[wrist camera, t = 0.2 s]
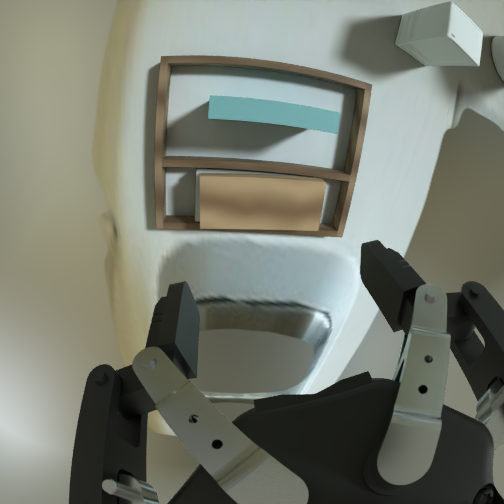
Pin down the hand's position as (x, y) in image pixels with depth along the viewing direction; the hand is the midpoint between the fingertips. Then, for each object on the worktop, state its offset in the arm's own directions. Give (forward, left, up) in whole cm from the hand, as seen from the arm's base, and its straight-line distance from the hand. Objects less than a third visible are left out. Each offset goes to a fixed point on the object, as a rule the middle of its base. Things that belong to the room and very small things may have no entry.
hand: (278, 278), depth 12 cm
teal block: (-7, +3, -28) cm, 29 cm away
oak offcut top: (+5, +3, -25) cm, 25 cm away
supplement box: (-26, +26, -28) cm, 46 cm away
